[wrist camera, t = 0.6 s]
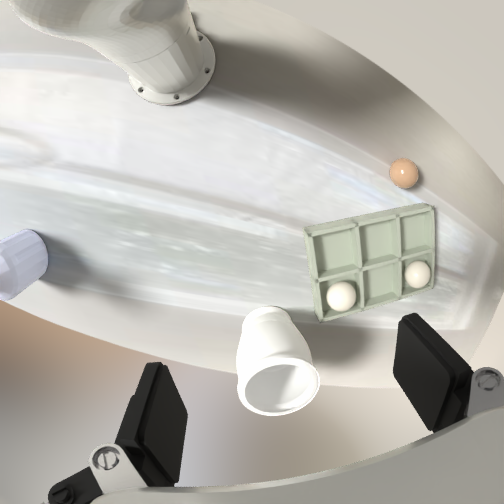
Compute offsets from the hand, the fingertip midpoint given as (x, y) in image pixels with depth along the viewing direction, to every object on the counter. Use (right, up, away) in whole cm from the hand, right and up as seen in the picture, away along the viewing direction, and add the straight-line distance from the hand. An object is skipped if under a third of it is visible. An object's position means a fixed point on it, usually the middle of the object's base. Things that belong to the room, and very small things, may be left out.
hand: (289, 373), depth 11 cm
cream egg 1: (+12, -1, +34) cm, 37 cm away
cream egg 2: (+26, +2, +34) cm, 43 cm away
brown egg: (+21, +17, +30) cm, 41 cm away
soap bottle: (-41, +4, +31) cm, 51 cm away
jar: (+1, -8, +37) cm, 38 cm away
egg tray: (+18, +4, +34) cm, 39 cm away
